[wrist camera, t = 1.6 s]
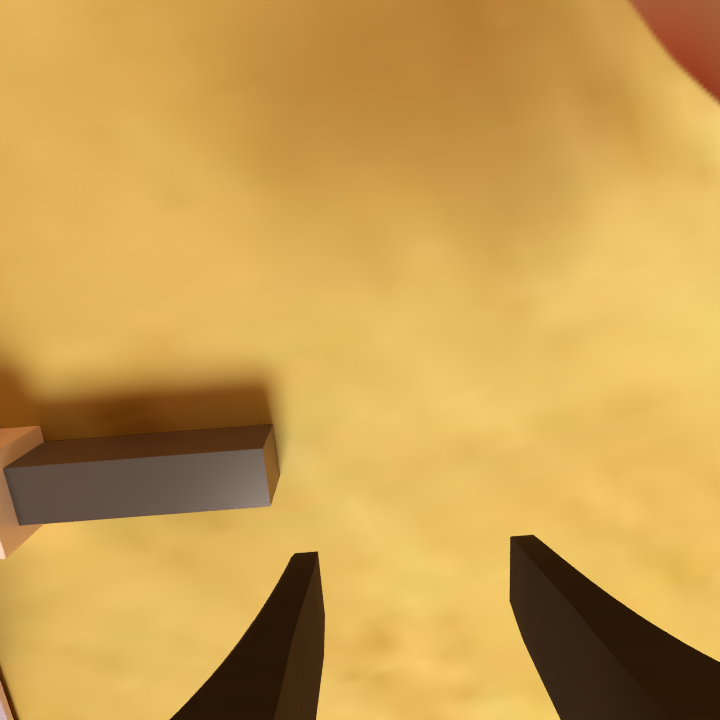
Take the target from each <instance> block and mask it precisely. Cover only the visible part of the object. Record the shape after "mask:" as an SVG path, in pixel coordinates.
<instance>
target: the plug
mask: <svg viewBox="0 0 720 720" xmlns="http://www.w3.org/2000/svg"><path fill="white" fill-rule="evenodd" d="M279 477H280V474H279V466H278V458H277V450H276V443H275V435H274V427H273V424H268V425H255V426H242V427H229V428H216V429H203V430H190V431H177V432H164V433H151V434H138V435H125V436H112V437H98V438H85V439H72V440H59V441H46V442H44V439H43V436H42V432H41V428H40V426H29V427H16V428H3V429H0V559H6V558H7V557H8V556H9V555H11V554H12V553H13V552H14V551H15V550H16V549H17V548H18V547H19V546H20V545H21V544H23V543H24V542H25V541H26V540H27V539H28V538H29V537H30V536H31V535H32V534H33V533H35V532H36V531H37V530H38V529H39V528H40V527H41V526H42V525H43V524H47V523H60V522H73V521H86V520H99V519H112V518H125V517H138V516H151V515H164V514H177V513H190V512H202V511H215V510H228V509H241V508H254V507H267V506H271V503H272V500H273V497H274V493H275V490H276V487H277V483H278V480H279Z"/></svg>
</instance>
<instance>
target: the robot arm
mask: <svg viewBox="0 0 720 720" xmlns="http://www.w3.org/2000/svg"><path fill="white" fill-rule="evenodd" d="M510 603H511V606H512V609H513V612H514V615H515V618H516V621H517V624H518V627H519V630H520V633H521V636H522V638H523V641H524V643H525V645H526V648H527V650H528V652H529V654H530V656H531V658H532V660H533V662H534V665H535V667H536V669H537V671H538V673H539V675H540V677H541V679H542V682H543V684H544V686H545V688H546V690H547V692H548V694H549V696H550V698H551V700H552V702H553V705H554V707H555V709H556V711H557V713H558V715H559V717H560V719H561V720H720V662H718V661H716V660H715V659H713V658H711V657H709V656H707V655H705V654H703V653H701V652H699V651H698V650H696V649H694V648H692V647H690V646H689V645H687V644H685V643H683V642H682V641H680V640H678V639H677V638H675V637H673V636H672V635H670V634H668V633H667V632H665V631H663V630H662V629H660V628H658V627H657V626H655V625H653V624H652V623H650V622H649V621H647V620H646V619H644V618H643V617H641V616H639V615H638V614H636V613H635V612H634V611H632V610H631V609H629V608H628V607H626V606H625V605H623V604H622V603H621V602H619V601H618V600H616V599H615V598H613V597H612V596H611V595H609V594H608V593H606V592H605V591H604V590H602V589H601V588H600V587H598V586H597V585H596V584H594V583H593V582H592V581H590V580H589V579H588V578H587V577H585V576H584V575H583V574H581V573H580V572H579V571H578V570H576V569H575V568H574V567H572V566H571V565H570V564H569V563H568V562H566V561H565V560H564V559H563V558H561V557H560V556H559V555H558V554H556V553H555V552H554V551H553V550H552V549H550V548H549V547H548V546H547V545H545V544H544V543H543V542H542V541H540V540H539V539H538V538H537V537H535V536H534V535H525V536H512V537H510ZM324 632H325V612H324V603H323V594H322V585H321V576H320V567H319V558H318V552H306V553H295V554H294V555H293V556H292V557H291V559H290V561H289V563H288V565H287V567H286V569H285V571H284V573H283V574H282V576H281V578H280V580H279V581H278V583H277V585H276V587H275V588H274V590H273V592H272V593H271V595H270V597H269V598H268V600H267V601H266V603H265V604H264V606H263V608H262V609H261V611H260V612H259V614H258V615H257V617H256V618H255V620H254V621H253V623H252V624H251V625H250V627H249V628H248V630H247V631H246V632H245V634H244V635H243V637H242V638H241V639H240V641H239V642H238V644H237V645H236V646H235V647H234V649H233V650H232V651H231V653H230V654H229V655H228V656H227V658H226V659H225V660H224V661H223V663H222V664H221V665H220V666H219V667H218V669H217V670H216V671H215V672H214V673H213V674H212V676H211V677H210V678H209V679H208V680H207V681H206V682H205V683H204V684H203V686H202V687H201V688H200V689H199V690H198V691H197V692H196V693H195V694H194V695H193V696H192V698H191V699H190V700H189V701H188V702H187V703H186V704H185V705H184V706H183V707H182V708H181V709H180V710H179V711H178V712H177V713H176V714H175V715H174V716H173V717H172V718H171V719H170V720H316V714H317V706H318V698H319V691H320V683H321V675H322V667H323V659H324ZM0 720H14V719H13V716H12V713H11V711H10V708H9V705H8V702H7V699H6V696H5V693H4V690H3V687H2V684H1V681H0Z"/></svg>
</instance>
